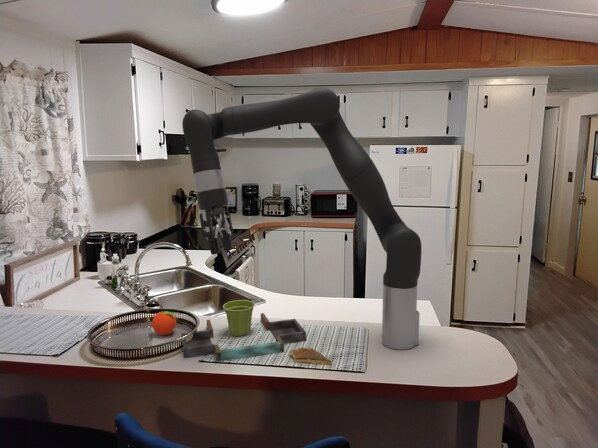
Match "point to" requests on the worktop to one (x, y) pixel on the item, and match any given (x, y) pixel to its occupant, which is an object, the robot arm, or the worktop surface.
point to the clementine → (164, 322)
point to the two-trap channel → (280, 329)
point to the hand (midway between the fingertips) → (222, 252)
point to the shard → (309, 356)
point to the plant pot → (239, 316)
